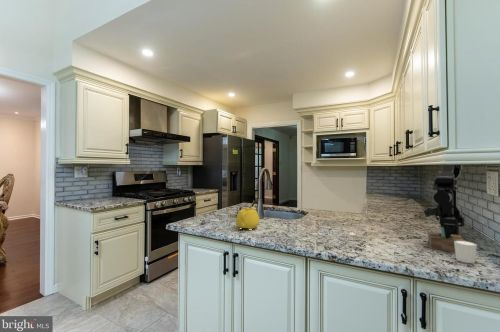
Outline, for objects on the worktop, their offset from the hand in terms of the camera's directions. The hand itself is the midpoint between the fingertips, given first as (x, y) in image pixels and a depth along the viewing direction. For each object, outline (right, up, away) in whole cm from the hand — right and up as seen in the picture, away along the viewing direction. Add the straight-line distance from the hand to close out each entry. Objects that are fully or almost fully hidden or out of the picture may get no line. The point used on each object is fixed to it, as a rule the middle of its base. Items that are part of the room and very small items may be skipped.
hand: (445, 235), depth 112 cm
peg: (0, -5, 0) cm, 5 cm away
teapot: (-92, -6, +38) cm, 99 cm away
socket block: (0, -5, 0) cm, 5 cm away
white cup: (-5, -6, -16) cm, 17 cm away
